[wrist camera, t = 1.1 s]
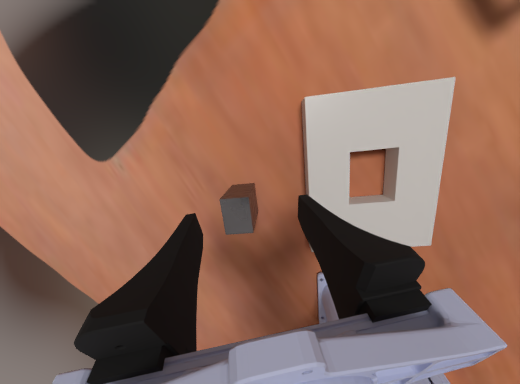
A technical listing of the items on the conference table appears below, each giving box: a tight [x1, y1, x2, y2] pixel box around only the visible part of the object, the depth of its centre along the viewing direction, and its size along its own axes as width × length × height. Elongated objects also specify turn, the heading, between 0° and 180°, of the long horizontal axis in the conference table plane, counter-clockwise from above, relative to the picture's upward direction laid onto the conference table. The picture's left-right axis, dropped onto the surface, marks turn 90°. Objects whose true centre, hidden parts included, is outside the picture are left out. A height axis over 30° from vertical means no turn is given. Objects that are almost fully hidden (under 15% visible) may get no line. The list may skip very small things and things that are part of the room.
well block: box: [302, 77, 455, 252], centre depth 23 cm, size 18×14×2 cm
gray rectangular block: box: [220, 183, 258, 235], centre depth 23 cm, size 4×3×6 cm
